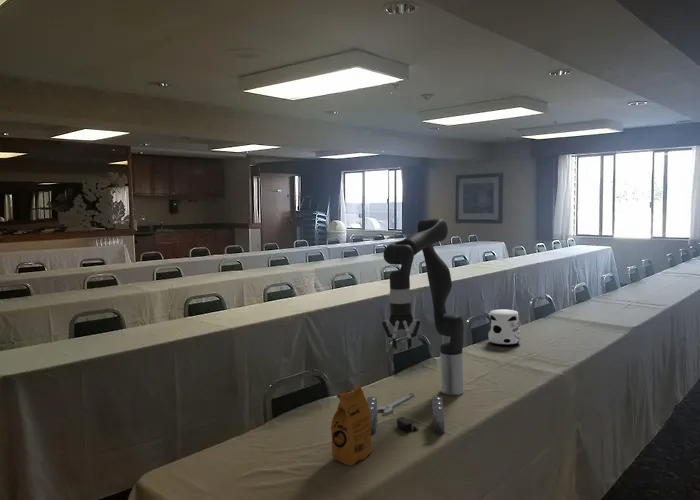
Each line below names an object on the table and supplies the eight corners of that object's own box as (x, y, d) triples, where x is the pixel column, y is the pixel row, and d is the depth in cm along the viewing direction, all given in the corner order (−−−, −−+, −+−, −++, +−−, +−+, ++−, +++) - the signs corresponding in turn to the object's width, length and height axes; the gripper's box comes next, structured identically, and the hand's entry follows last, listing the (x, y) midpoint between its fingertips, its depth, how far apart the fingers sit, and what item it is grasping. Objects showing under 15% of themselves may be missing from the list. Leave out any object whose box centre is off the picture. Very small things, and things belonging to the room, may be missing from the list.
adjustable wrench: (410, 395, 221) (410, 391, 221) (423, 399, 216) (422, 394, 216) (371, 413, 203) (371, 409, 203) (384, 417, 198) (384, 413, 198)
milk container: (526, 346, 286) (525, 313, 284) (496, 348, 283) (495, 316, 282) (512, 338, 303) (511, 308, 301) (483, 340, 301) (483, 310, 299)
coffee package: (327, 459, 167) (324, 392, 165) (353, 445, 176) (350, 381, 174) (350, 468, 160) (347, 399, 158) (376, 453, 169) (373, 387, 168)
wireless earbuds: (407, 434, 183) (407, 425, 182) (396, 427, 189) (395, 418, 189) (418, 431, 185) (418, 422, 185) (406, 424, 191) (406, 415, 191)
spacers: (368, 419, 196) (367, 396, 196) (442, 419, 193) (441, 396, 192) (365, 434, 184) (364, 409, 183) (445, 434, 181) (444, 409, 180)
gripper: (420, 298, 187) (421, 345, 189) (380, 299, 189) (382, 345, 190) (421, 302, 180) (422, 351, 181) (379, 303, 181) (381, 351, 183)
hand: (402, 348), depth 186 cm, fingers open, 4 cm apart
